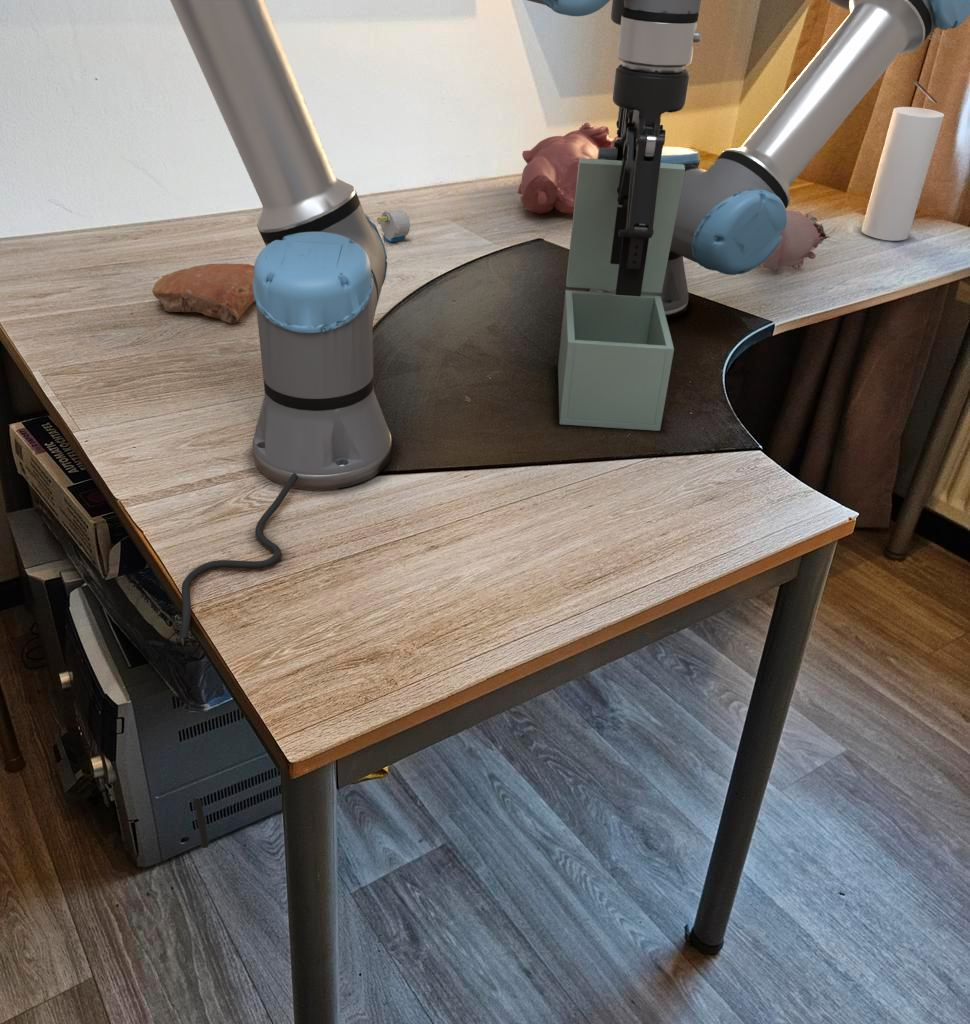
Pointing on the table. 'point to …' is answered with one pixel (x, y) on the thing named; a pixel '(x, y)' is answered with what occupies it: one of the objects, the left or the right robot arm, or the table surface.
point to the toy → (796, 241)
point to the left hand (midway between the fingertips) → (624, 278)
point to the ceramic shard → (208, 290)
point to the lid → (598, 224)
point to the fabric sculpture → (559, 168)
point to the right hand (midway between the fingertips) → (622, 196)
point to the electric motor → (394, 225)
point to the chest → (613, 361)
